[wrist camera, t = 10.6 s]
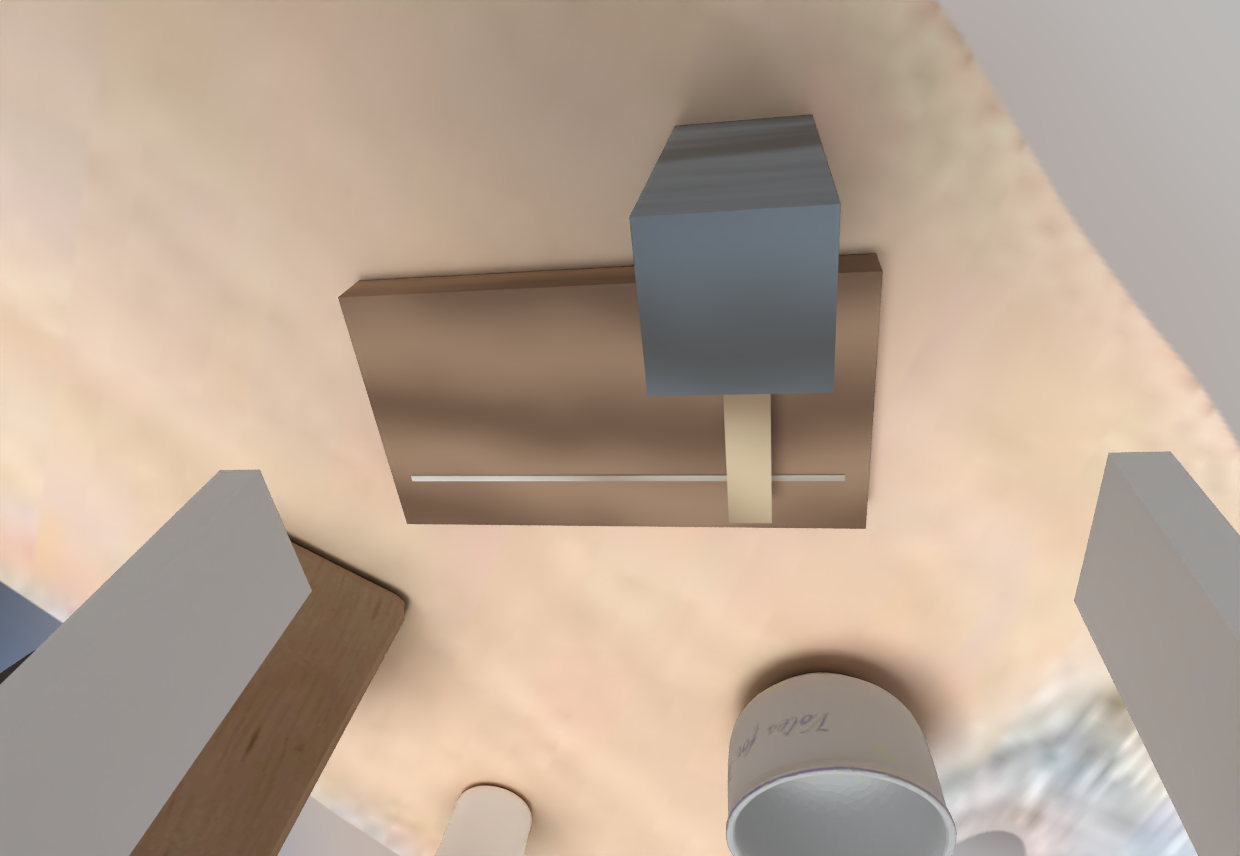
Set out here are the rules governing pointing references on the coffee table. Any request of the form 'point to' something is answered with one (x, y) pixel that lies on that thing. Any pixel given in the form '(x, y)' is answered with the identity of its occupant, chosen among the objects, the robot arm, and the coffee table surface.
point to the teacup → (833, 774)
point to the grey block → (739, 280)
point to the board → (590, 406)
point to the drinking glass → (487, 824)
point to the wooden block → (281, 723)
